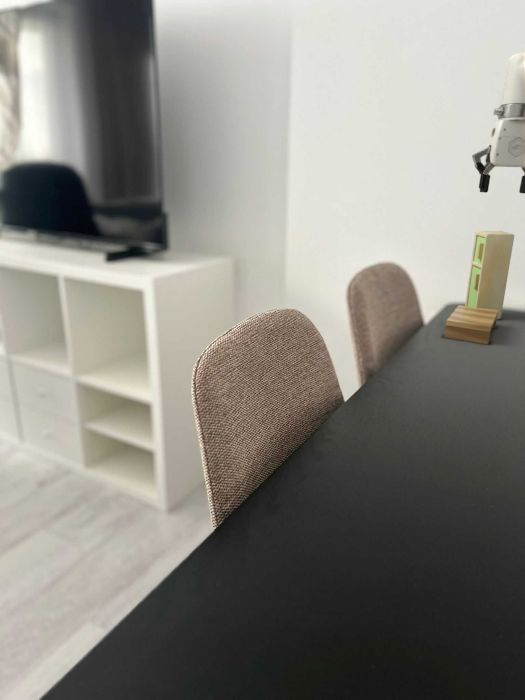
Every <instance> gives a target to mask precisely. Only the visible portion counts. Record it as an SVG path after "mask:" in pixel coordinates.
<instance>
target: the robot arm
mask: <svg viewBox="0 0 525 700" xmlns="http://www.w3.org/2000/svg"><path fill="white" fill-rule="evenodd" d="M502 89H503V90H502V95H501V102H500V105H499V107H498V108H494V110H493V116H497V120H495V122H494V124H493V127H492V130H491V133H490V136H489V140H488V144H487V147H485V148H484V149H481V150H479V151H477V152H475V153H473V154H472V156H471V157H472V162H473V164H474V168H475V169H476V170H477V171H478V174H479V176H480V177H479V183H478V189H479V193H485V194H486V193H488V192H489V187H490V181H491V174H490V172H491V171H492V170H493V169H494V168H495V167H496V168H497V167H498V168H499V167H500V168H520V169H521V170H522V172H523V174H524V175H522V176H521V180H520V185H519V189H518V190H519V191H518V192H519V193H520V194H525V51H522V52H517V53H515V54H512V55H511V56H510V57H509V59H508V61H507V65H506V69H505V76H504V82H503V88H502ZM483 157H485V160H484V161H485V164H483V163H482V158H483Z"/></svg>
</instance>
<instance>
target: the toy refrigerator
mask: <svg viewBox="0 0 525 700" xmlns="http://www.w3.org/2000/svg"><path fill="white" fill-rule="evenodd" d="M514 240H515V235H514V233H511V232H506V231H503V230H476V231H475V232H474V240H473V247H472V253H471V262H470V268H469V275H468V282H467V289H466V297H465V303H464V306H469V307H477V308H484V309H492V310H498V316H497V320H501V318H502V313H503V308H504V307H503V306H504V301H505V295H506V288H507V282H508V276H509V270H510V264H511V259H512V252H513V247H514V246H513V245H514Z"/></svg>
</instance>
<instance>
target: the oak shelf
mask: <svg viewBox="0 0 525 700" xmlns="http://www.w3.org/2000/svg"><path fill="white" fill-rule="evenodd" d="M497 316H498V310H492V309H484V308H477V307H469V306H465V305H461V304H460V305H459V304H458V306H457V307H456V308H455V309H454V311H453V312H452V313H451V314H450V316H449V317H448V318H447V319H446V322H445V330H444V335H443V336H444V338H445V339H451V340H458V341H465V342H471V343H475V344H476V343H477V344H483V345H488V344H489V343H490V338H491V332H492V329H496V326H497V321H498V319H497Z"/></svg>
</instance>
